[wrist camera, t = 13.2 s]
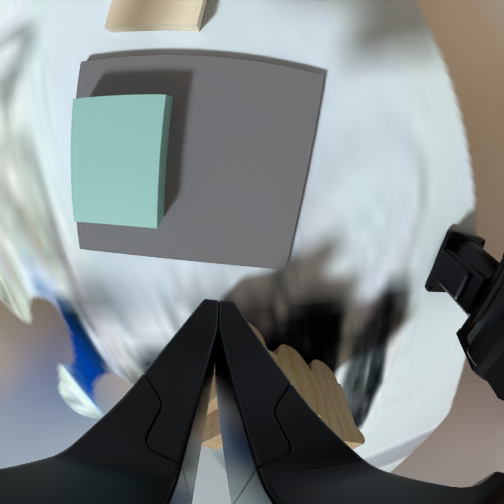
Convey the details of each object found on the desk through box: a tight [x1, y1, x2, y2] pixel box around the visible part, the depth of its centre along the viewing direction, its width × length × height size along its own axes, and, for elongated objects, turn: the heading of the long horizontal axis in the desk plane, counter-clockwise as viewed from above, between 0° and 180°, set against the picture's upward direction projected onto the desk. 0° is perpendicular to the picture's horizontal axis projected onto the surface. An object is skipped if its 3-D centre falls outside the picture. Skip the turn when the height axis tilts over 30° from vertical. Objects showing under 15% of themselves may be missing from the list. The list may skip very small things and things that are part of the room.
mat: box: [76, 55, 324, 270], centre depth 17 cm, size 16×14×1 cm
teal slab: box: [71, 94, 173, 228], centre depth 15 cm, size 2×8×6 cm
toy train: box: [202, 322, 365, 450], centre depth 22 cm, size 6×17×10 cm, turn 50°
